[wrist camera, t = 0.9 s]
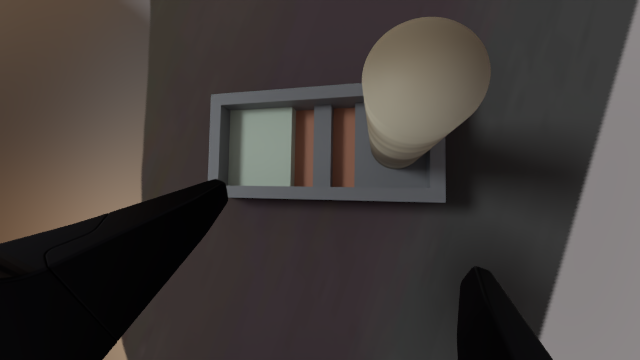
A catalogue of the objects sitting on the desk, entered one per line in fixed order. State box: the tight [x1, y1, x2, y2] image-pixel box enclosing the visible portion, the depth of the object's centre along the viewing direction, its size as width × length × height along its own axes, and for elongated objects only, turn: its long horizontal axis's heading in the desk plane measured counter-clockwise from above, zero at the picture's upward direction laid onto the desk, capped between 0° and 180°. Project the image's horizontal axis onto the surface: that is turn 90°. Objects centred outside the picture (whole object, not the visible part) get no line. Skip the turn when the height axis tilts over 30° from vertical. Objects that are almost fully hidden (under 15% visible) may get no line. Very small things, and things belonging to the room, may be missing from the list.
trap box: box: [208, 83, 446, 203], centre depth 21 cm, size 9×19×3 cm, turn 89°
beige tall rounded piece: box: [362, 17, 491, 169], centre depth 14 cm, size 4×4×12 cm
